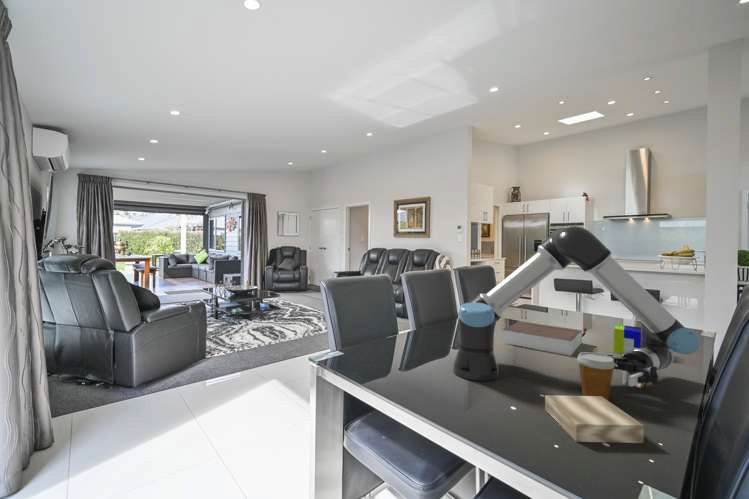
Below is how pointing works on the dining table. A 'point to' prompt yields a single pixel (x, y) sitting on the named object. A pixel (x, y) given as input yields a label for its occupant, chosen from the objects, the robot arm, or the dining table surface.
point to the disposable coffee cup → (595, 373)
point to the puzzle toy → (626, 338)
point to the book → (543, 337)
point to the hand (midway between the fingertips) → (603, 373)
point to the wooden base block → (593, 419)
